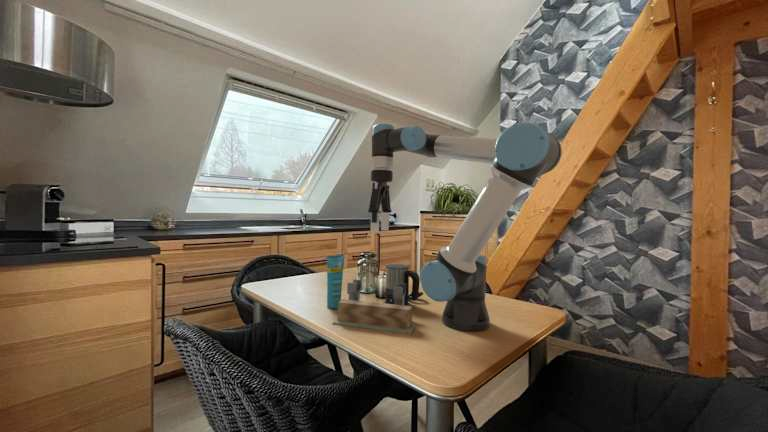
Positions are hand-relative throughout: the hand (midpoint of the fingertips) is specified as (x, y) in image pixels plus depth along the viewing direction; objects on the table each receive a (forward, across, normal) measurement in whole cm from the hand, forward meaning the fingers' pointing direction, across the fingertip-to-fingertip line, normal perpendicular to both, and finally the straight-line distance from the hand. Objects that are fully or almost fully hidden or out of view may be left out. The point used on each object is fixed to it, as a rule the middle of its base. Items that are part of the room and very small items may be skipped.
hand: (379, 231), depth 117 cm
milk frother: (+29, -18, +6) cm, 35 cm away
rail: (+28, +11, +2) cm, 30 cm away
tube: (+29, -2, -17) cm, 34 cm away
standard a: (+29, +2, +8) cm, 30 cm away
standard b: (+29, +2, -8) cm, 30 cm away
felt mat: (+29, +11, +2) cm, 31 cm away
